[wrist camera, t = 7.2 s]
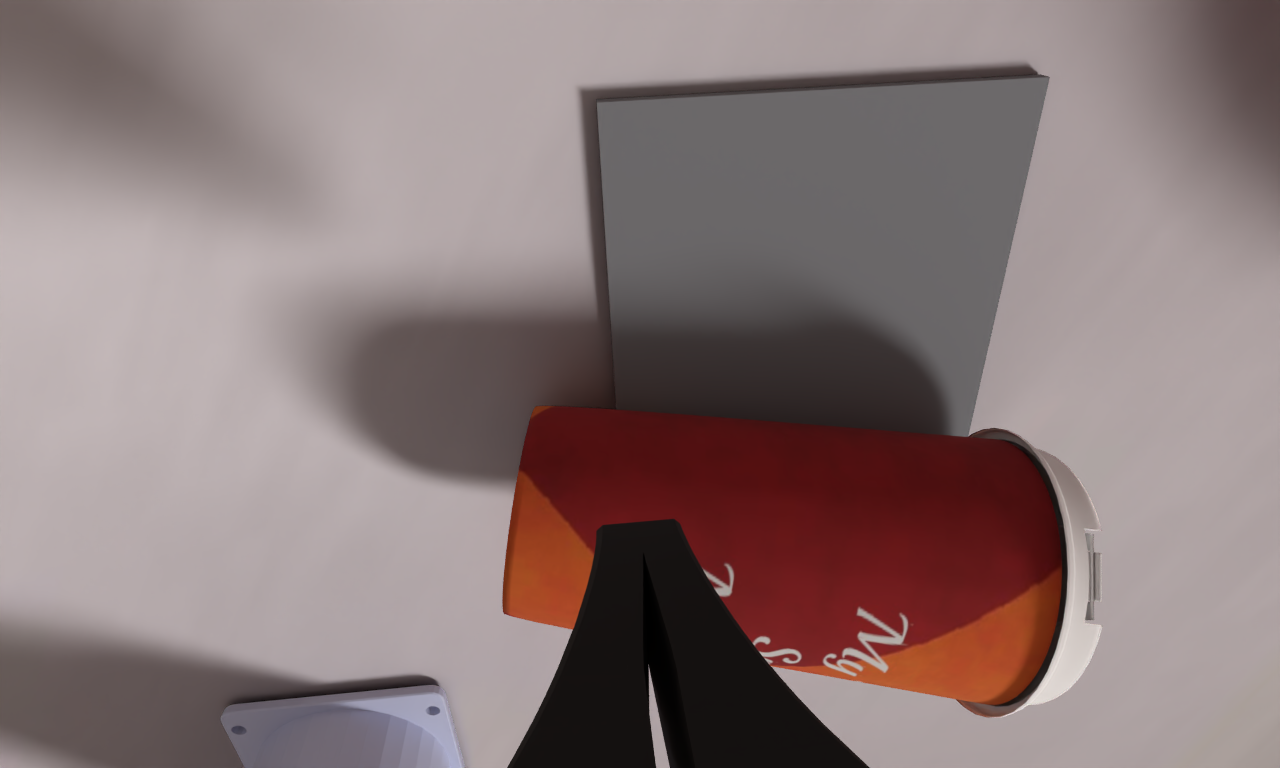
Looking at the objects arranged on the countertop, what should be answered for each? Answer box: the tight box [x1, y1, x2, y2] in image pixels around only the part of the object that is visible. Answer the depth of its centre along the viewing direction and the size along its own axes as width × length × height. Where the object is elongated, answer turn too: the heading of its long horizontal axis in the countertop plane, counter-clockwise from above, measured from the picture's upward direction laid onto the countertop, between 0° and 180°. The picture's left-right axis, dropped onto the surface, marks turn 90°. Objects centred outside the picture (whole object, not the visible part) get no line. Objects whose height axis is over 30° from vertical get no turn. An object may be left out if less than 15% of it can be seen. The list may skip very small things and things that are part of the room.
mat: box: [596, 74, 1050, 437], centre depth 22 cm, size 16×11×1 cm
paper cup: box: [503, 406, 1102, 718], centre depth 20 cm, size 8×8×14 cm
